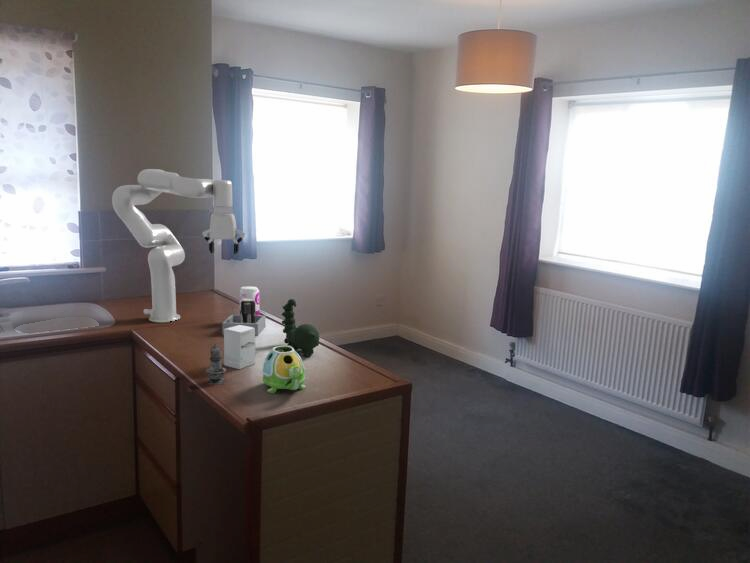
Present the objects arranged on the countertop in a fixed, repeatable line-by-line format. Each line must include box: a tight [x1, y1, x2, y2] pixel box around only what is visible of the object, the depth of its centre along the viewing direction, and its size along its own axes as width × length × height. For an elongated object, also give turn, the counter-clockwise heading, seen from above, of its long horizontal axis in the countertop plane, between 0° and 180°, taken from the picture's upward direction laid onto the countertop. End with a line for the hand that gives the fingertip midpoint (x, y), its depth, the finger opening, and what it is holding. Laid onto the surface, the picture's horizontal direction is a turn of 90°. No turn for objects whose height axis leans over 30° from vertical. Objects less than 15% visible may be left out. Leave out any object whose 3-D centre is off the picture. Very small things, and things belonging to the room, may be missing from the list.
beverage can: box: [241, 298, 255, 323], centre depth 234 cm, size 6×6×12 cm
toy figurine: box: [281, 298, 320, 357], centre depth 208 cm, size 9×19×25 cm
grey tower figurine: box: [205, 343, 227, 385], centre depth 176 cm, size 6×6×12 cm
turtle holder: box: [262, 345, 306, 394], centre depth 171 cm, size 12×18×12 cm
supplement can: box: [239, 285, 260, 315], centre depth 247 cm, size 8×8×15 cm
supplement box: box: [223, 325, 256, 370], centre depth 192 cm, size 7×7×13 cm
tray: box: [221, 314, 267, 337], centre depth 234 cm, size 14×14×5 cm
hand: (224, 253), depth 237 cm, fingers open, 9 cm apart
